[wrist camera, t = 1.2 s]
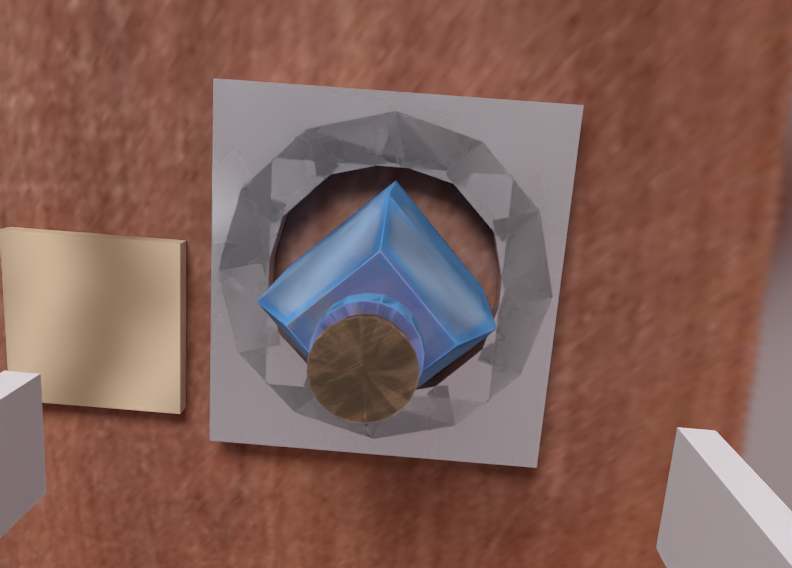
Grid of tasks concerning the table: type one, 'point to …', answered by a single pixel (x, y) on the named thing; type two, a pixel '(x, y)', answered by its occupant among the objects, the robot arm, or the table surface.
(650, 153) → the table surface
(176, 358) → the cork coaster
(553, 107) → the eye plate
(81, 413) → the table surface
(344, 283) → the perfume bottle
